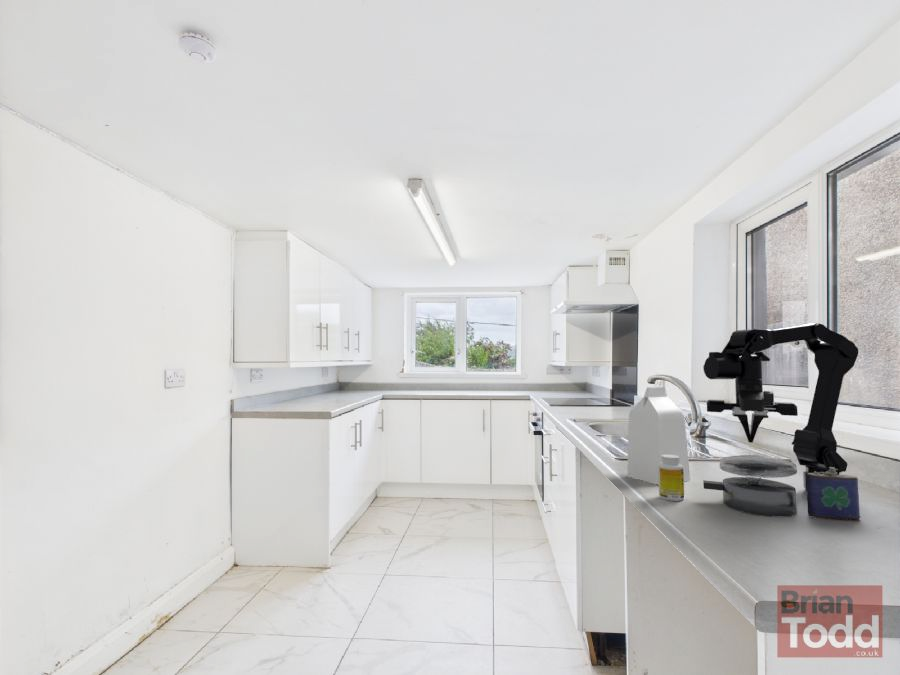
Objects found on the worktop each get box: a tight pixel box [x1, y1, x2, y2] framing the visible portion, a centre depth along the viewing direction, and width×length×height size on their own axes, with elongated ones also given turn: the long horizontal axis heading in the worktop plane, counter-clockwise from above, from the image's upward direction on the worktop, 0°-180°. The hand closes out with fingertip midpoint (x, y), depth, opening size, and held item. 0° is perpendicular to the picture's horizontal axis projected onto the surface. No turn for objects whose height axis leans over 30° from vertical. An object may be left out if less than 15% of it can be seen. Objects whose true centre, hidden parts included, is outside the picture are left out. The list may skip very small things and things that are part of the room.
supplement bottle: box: [658, 455, 685, 502], centre depth 114 cm, size 6×6×10 cm
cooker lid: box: [718, 454, 798, 479], centre depth 109 cm, size 15×15×3 cm
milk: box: [626, 386, 691, 486], centre depth 134 cm, size 12×12×26 cm
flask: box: [806, 467, 861, 521], centre depth 100 cm, size 9×3×11 cm, turn 74°
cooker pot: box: [702, 476, 798, 517], centre depth 109 cm, size 18×16×5 cm
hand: (750, 442), depth 116 cm, fingers closed
